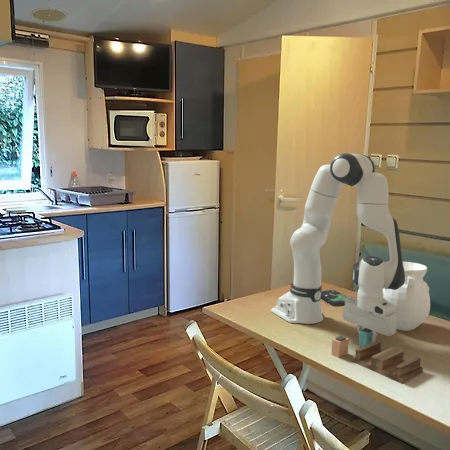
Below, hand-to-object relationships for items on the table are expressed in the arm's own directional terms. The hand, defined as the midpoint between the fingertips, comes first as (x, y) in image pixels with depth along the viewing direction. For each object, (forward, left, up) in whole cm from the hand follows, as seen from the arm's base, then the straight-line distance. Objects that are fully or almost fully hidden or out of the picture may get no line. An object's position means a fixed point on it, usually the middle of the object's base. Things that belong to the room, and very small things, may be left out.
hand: (367, 339), depth 168 cm
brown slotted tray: (+14, -9, -2) cm, 17 cm away
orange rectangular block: (-1, -14, -2) cm, 14 cm away
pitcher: (-2, +27, -2) cm, 27 cm away
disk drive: (-39, +30, -3) cm, 49 cm away
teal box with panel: (0, 0, -2) cm, 2 cm away
